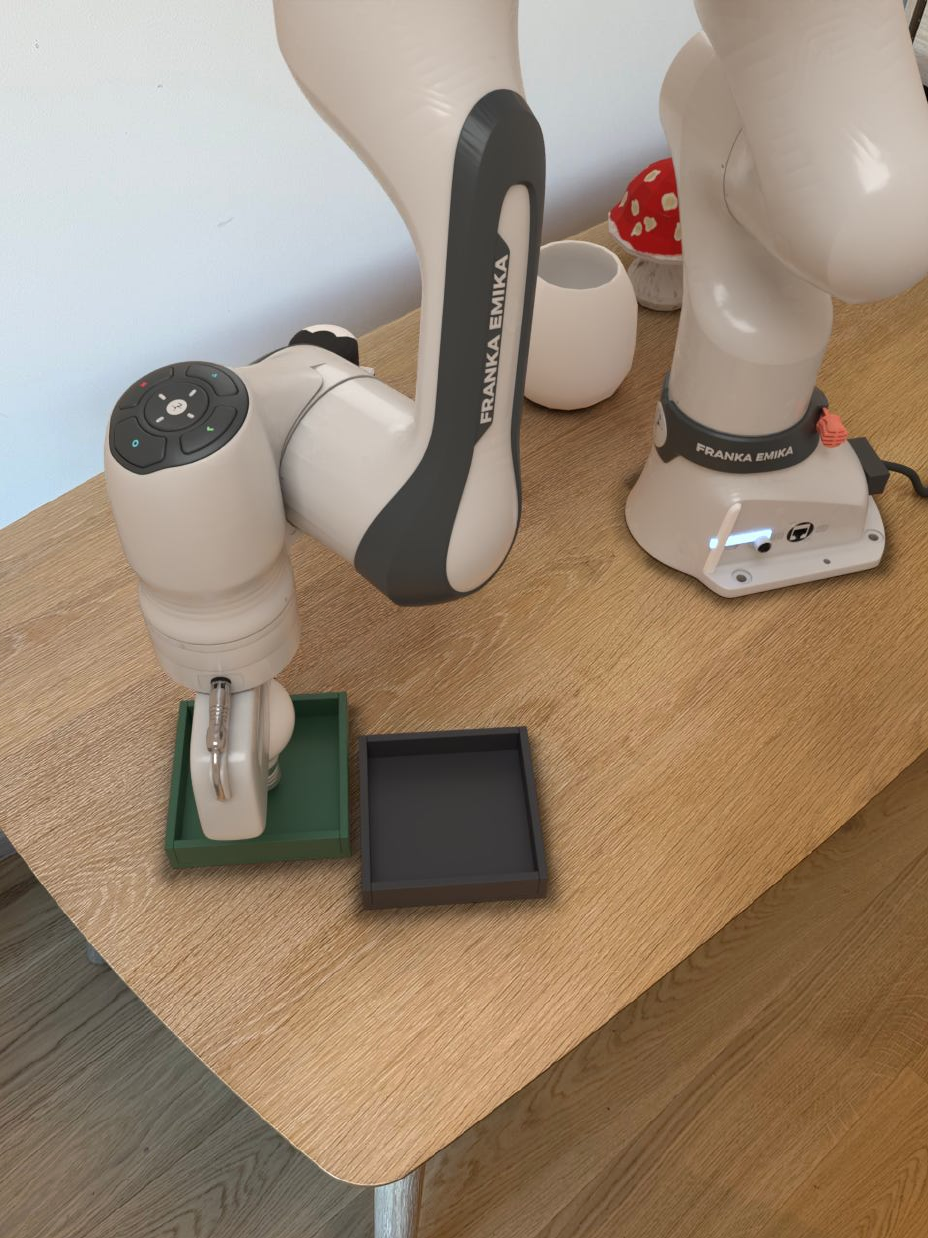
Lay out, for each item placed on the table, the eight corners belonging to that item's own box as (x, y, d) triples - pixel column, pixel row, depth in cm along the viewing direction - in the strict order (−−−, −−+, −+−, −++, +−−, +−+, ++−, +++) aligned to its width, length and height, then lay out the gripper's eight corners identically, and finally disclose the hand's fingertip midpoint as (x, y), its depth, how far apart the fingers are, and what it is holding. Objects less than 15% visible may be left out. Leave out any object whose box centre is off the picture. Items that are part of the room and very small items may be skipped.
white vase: (655, 382, 111) (676, 262, 100) (574, 445, 104) (588, 324, 94) (552, 329, 116) (563, 210, 106) (469, 386, 110) (472, 265, 99)
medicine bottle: (359, 476, 101) (351, 369, 92) (284, 465, 102) (269, 357, 92) (378, 427, 105) (373, 320, 96) (307, 417, 106) (294, 310, 97)
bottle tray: (524, 747, 82) (526, 725, 80) (545, 898, 74) (548, 878, 72) (360, 756, 81) (358, 735, 79) (364, 910, 73) (361, 891, 71)
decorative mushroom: (666, 348, 114) (691, 214, 103) (571, 290, 121) (584, 159, 109) (750, 299, 120) (783, 167, 109) (655, 246, 127) (677, 117, 116)
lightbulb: (295, 826, 76) (273, 737, 68) (207, 813, 77) (175, 724, 69) (317, 750, 80) (299, 657, 72) (233, 738, 81) (206, 646, 73)
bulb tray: (348, 713, 84) (346, 691, 81) (351, 857, 76) (348, 837, 74) (186, 722, 83) (179, 700, 81) (171, 869, 75) (163, 849, 73)
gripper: (272, 764, 59) (296, 884, 69) (282, 499, 72) (302, 634, 82) (151, 770, 58) (195, 891, 69) (185, 503, 71) (217, 638, 82)
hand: (253, 749), depth 76 cm, fingers closed on lightbulb, 5 cm apart
